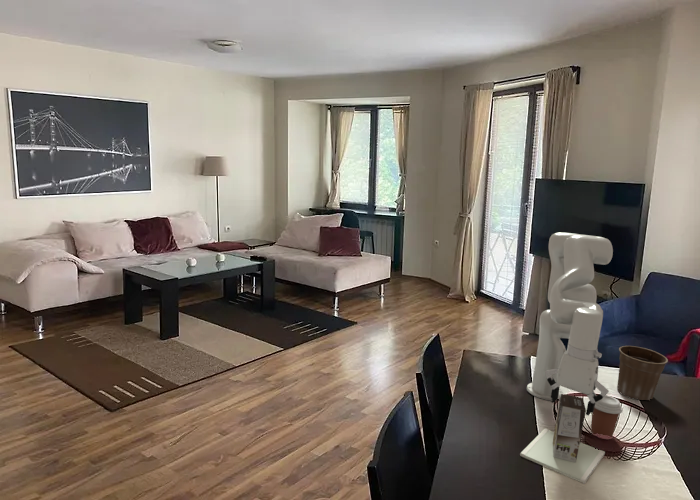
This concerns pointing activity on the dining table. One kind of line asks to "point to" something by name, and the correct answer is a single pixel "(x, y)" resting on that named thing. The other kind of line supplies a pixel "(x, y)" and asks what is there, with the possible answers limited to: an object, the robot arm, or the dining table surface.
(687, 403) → the dining table surface
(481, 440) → the dining table surface
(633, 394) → the plant pot
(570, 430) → the coffee box
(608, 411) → the coffee cup
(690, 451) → the dining table surface
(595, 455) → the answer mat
